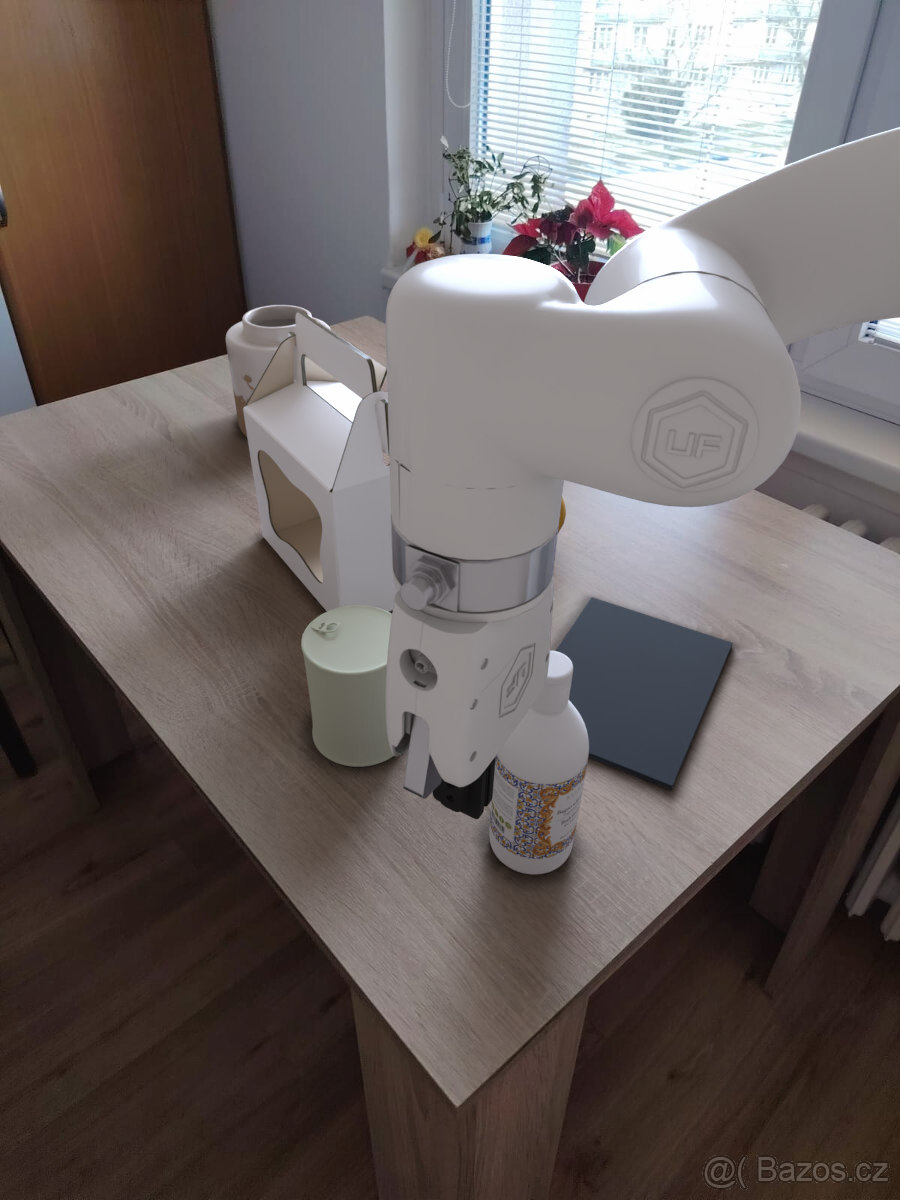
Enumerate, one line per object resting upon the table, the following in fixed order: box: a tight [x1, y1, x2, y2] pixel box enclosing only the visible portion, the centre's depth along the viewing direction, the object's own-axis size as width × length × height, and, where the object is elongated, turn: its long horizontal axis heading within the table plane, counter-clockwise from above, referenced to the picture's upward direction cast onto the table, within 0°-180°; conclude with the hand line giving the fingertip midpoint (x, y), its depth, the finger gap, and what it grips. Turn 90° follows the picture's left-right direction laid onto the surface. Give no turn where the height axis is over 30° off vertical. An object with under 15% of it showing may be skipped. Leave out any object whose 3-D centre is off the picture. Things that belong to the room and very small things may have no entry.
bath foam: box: [488, 650, 590, 875], centre depth 62 cm, size 7×7×20 cm
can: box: [300, 605, 395, 768], centre depth 74 cm, size 9×9×12 cm
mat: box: [555, 596, 734, 791], centre depth 83 cm, size 22×16×1 cm
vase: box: [225, 304, 332, 438], centre depth 123 cm, size 15×15×17 cm
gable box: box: [243, 312, 398, 612], centre depth 91 cm, size 22×13×28 cm, turn 33°
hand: (462, 799), depth 49 cm, fingers closed
